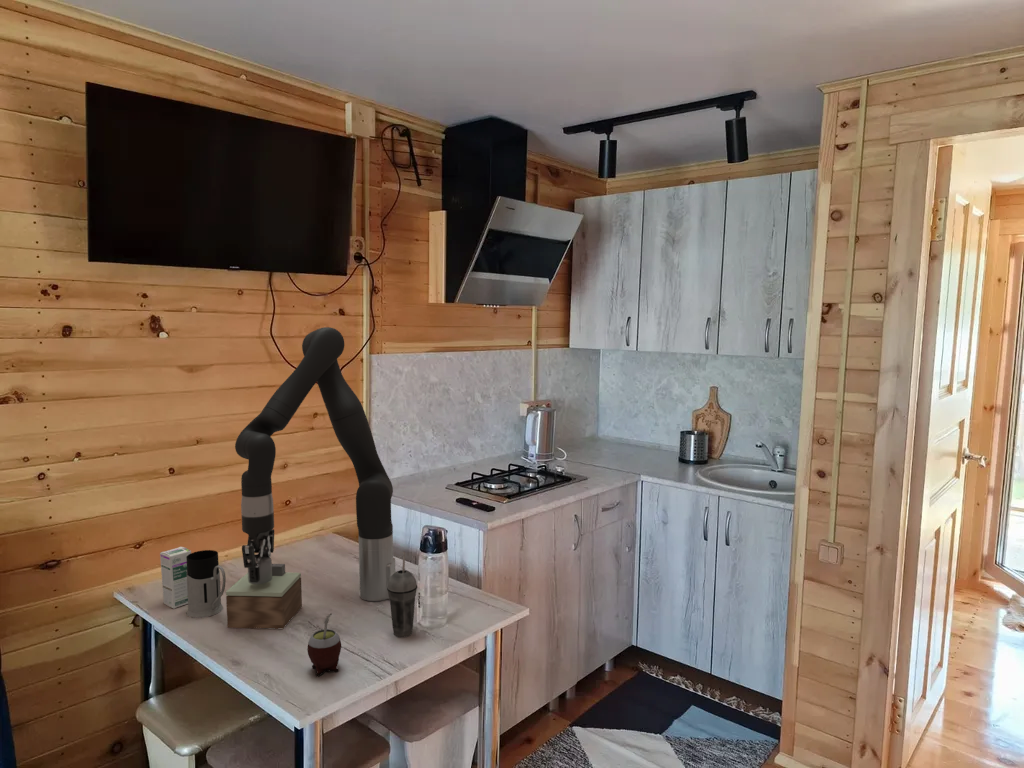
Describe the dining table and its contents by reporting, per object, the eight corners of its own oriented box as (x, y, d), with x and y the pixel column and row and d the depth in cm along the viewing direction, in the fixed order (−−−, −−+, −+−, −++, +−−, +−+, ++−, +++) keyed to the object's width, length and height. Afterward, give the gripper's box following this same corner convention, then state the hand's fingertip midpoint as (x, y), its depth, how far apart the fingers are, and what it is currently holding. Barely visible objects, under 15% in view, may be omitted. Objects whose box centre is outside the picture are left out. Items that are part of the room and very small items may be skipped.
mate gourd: (320, 659, 153) (318, 595, 151) (351, 664, 151) (349, 599, 149) (300, 676, 146) (298, 609, 144) (333, 681, 144) (331, 613, 142)
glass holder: (211, 600, 184) (208, 547, 183) (242, 614, 176) (239, 557, 174) (179, 612, 177) (177, 556, 176) (210, 626, 169) (207, 568, 167)
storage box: (302, 606, 180) (301, 577, 180) (282, 629, 168) (281, 597, 167) (250, 605, 181) (249, 576, 180) (227, 627, 168) (226, 596, 168)
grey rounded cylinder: (254, 575, 174) (253, 556, 173) (275, 575, 173) (275, 556, 173) (244, 583, 168) (243, 564, 168) (266, 584, 168) (265, 564, 167)
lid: (300, 576, 180) (300, 563, 179) (281, 596, 167) (281, 582, 166) (249, 575, 180) (248, 562, 180) (226, 595, 167) (225, 581, 167)
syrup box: (173, 609, 179) (170, 556, 177) (162, 603, 182) (159, 551, 181) (194, 602, 183) (192, 550, 182) (183, 596, 187) (180, 545, 185)
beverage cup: (381, 636, 163) (380, 556, 161) (398, 624, 170) (396, 546, 168) (408, 642, 161) (406, 560, 159) (423, 629, 167) (422, 550, 165)
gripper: (260, 520, 162) (262, 588, 163) (283, 503, 176) (285, 566, 178) (229, 519, 162) (232, 588, 164) (255, 503, 176) (257, 566, 178)
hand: (260, 576), depth 171 cm, fingers closed on grey rounded cylinder, 5 cm apart
